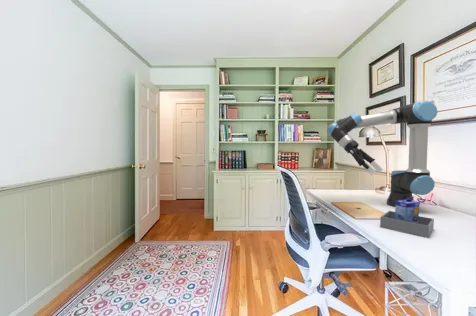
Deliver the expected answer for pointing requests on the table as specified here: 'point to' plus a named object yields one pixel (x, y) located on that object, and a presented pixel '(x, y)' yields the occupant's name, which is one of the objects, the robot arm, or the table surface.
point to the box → (408, 225)
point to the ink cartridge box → (407, 210)
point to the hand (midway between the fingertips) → (377, 172)
